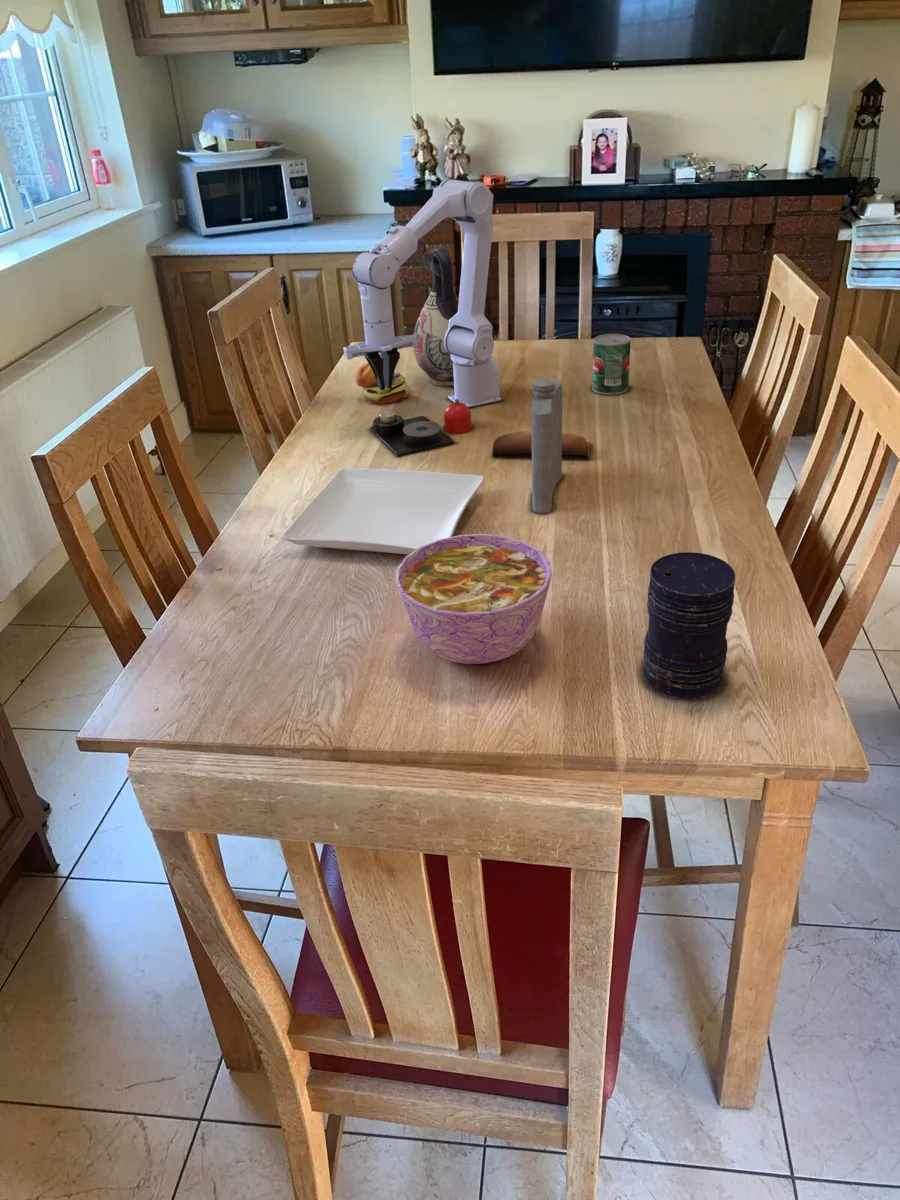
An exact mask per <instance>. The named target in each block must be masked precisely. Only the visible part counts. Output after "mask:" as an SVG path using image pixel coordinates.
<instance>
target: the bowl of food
mask: <svg viewBox="0 0 900 1200" xmlns="http://www.w3.org/2000/svg"><path fill="white" fill-rule="evenodd" d="M395 570H396V571H395V572H396V573H395V580H394V583H395V585H396V588H397V592H398V593H399V596H400V599H401V601H402V605H403V606H404V609H405V613H406V614H407V617H408V619H409V622H410V624H411V626H412V628H413V630H414V633H415V634H416V636H417V638H418V640H419V642H420V643H421V644H422V645H423V646H424V647H426V649H428V650H429V651H430V652H432V653H433V654H434V655H435V656H436V657H438V658H441V659H443V660H447V661H449V662H450V663H451V662H453V663H460V664H466V665H479V664H481V665H482V664H489V663H493V662H497V661H501V660H502V661H503V660H504V659H507V658H509V657H511V656H512V655H515V654H517V653H518V652H519V651H520V650H521V649H523V648H524V647H525V645H527V644H528V642H529V641H530V640H531V639H532V638H533V637H534V635H535V632H536V630H537V628H538V626H539V622H540V619H541V617H542V614H543V610H544V607H545V603H546V599H547V595H548V592H549V589H550V585H551V581H552V578H553V573H552V566H551V561H550V560H549V559H548V558H547V557H546V555H545V554H544V552H542V551H541V550H540V549H538V548H536V547H535V546H533V545H531V544H529V543H528V542H526V541H523V540H519V539H516V538H513V537H510V536H506V535H496V534H487V533H476V534H475V533H474V534H459V535H454V536H453V535H452V537H449V538H444V539H439V540H436V541H434V542H431V543H429V544H426V545H424V546H421V547H419V548H418V549H416V550H415V551H413V552H412V553H410V554H409V555H408V554H406V555H405V556H404V558H403V560H401V562H400V564H399V565H398V566H397V568H396V569H395Z"/></svg>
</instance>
